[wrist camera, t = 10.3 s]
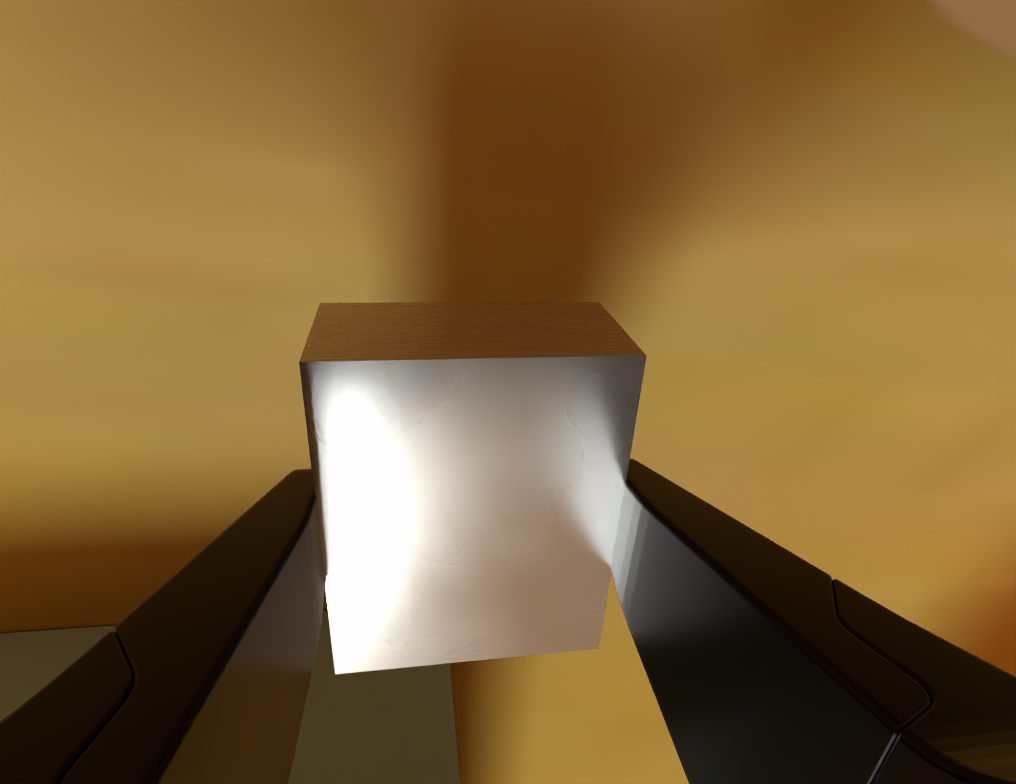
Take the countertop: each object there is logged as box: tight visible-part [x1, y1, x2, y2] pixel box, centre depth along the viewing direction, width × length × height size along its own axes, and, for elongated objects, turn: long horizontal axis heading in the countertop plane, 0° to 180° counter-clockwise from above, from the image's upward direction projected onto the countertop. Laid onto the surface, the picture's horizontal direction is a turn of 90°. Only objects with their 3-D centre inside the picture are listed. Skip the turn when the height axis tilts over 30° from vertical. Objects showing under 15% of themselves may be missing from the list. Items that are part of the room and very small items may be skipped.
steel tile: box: [299, 302, 646, 674], centre depth 9 cm, size 4×5×2 cm
